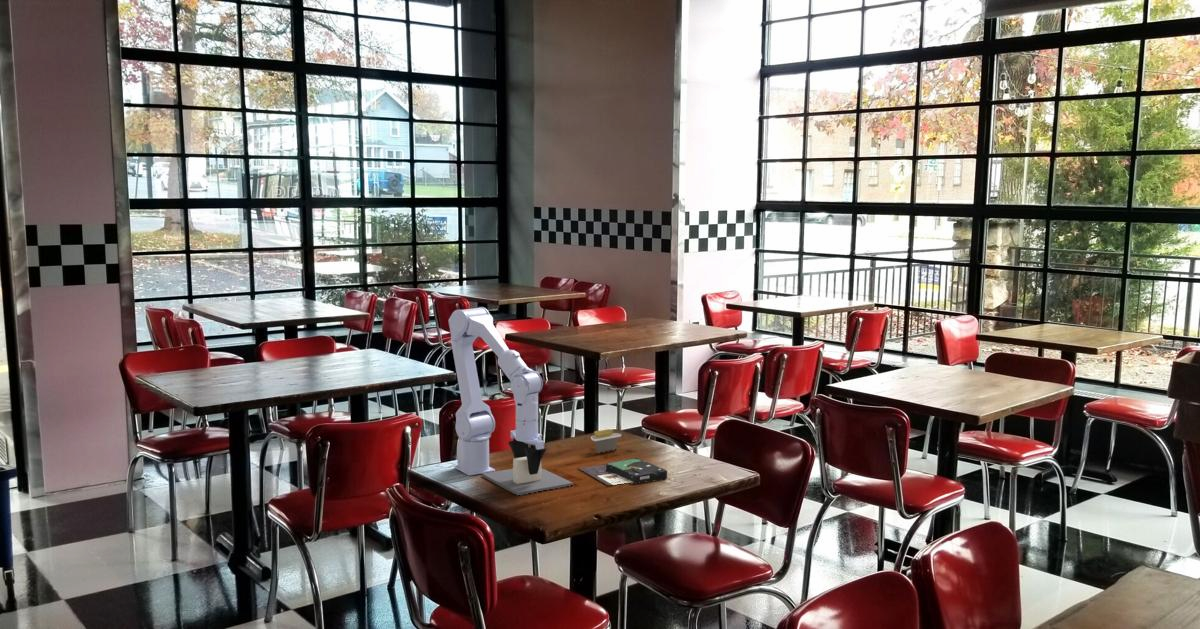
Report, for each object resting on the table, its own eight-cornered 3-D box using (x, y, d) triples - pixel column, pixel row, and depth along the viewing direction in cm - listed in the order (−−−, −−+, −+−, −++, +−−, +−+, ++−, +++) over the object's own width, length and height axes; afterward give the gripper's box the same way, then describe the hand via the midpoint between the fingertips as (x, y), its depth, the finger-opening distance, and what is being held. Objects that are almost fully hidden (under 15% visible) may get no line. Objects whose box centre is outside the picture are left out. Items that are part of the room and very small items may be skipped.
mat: (482, 476, 257) (482, 473, 257) (535, 467, 265) (535, 464, 265) (517, 495, 240) (517, 492, 240) (573, 485, 249) (573, 482, 249)
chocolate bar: (607, 464, 268) (638, 480, 252) (607, 467, 268) (638, 484, 252) (578, 468, 264) (608, 485, 248) (578, 471, 264) (608, 489, 248)
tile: (513, 481, 250) (513, 458, 249) (536, 477, 253) (536, 455, 253) (517, 483, 247) (517, 460, 247) (541, 479, 251) (541, 457, 251)
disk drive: (668, 480, 256) (636, 466, 268) (668, 470, 256) (636, 456, 268) (635, 486, 250) (604, 472, 263) (635, 476, 250) (605, 462, 263)
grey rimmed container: (567, 453, 283) (567, 431, 282) (615, 443, 294) (615, 422, 293) (592, 461, 273) (593, 439, 273) (641, 451, 285) (641, 430, 284)
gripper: (554, 422, 245) (554, 475, 246) (527, 412, 257) (527, 462, 258) (530, 426, 241) (530, 479, 242) (503, 415, 253) (503, 465, 254)
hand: (527, 470), depth 250 cm, fingers open, 6 cm apart
